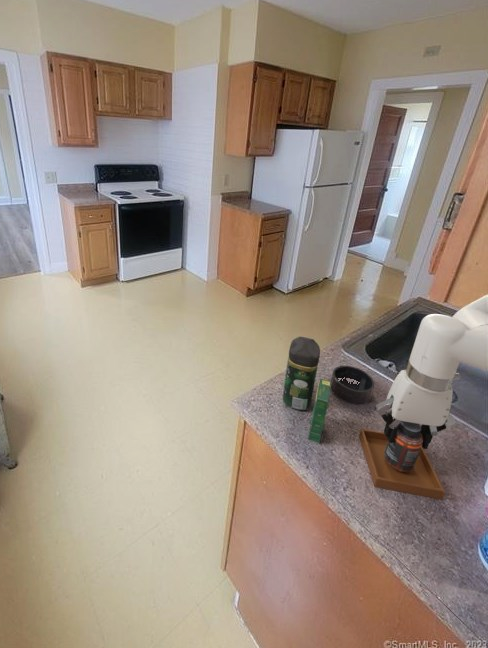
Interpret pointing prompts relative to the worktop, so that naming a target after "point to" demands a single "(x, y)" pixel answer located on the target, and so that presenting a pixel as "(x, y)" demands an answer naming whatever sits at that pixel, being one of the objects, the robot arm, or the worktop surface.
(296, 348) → the coffee jar
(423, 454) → the tray
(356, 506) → the worktop surface
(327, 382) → the coffee box
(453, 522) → the worktop surface
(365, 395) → the bowl
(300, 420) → the worktop surface
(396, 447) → the supplement bottle
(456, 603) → the worktop surface
